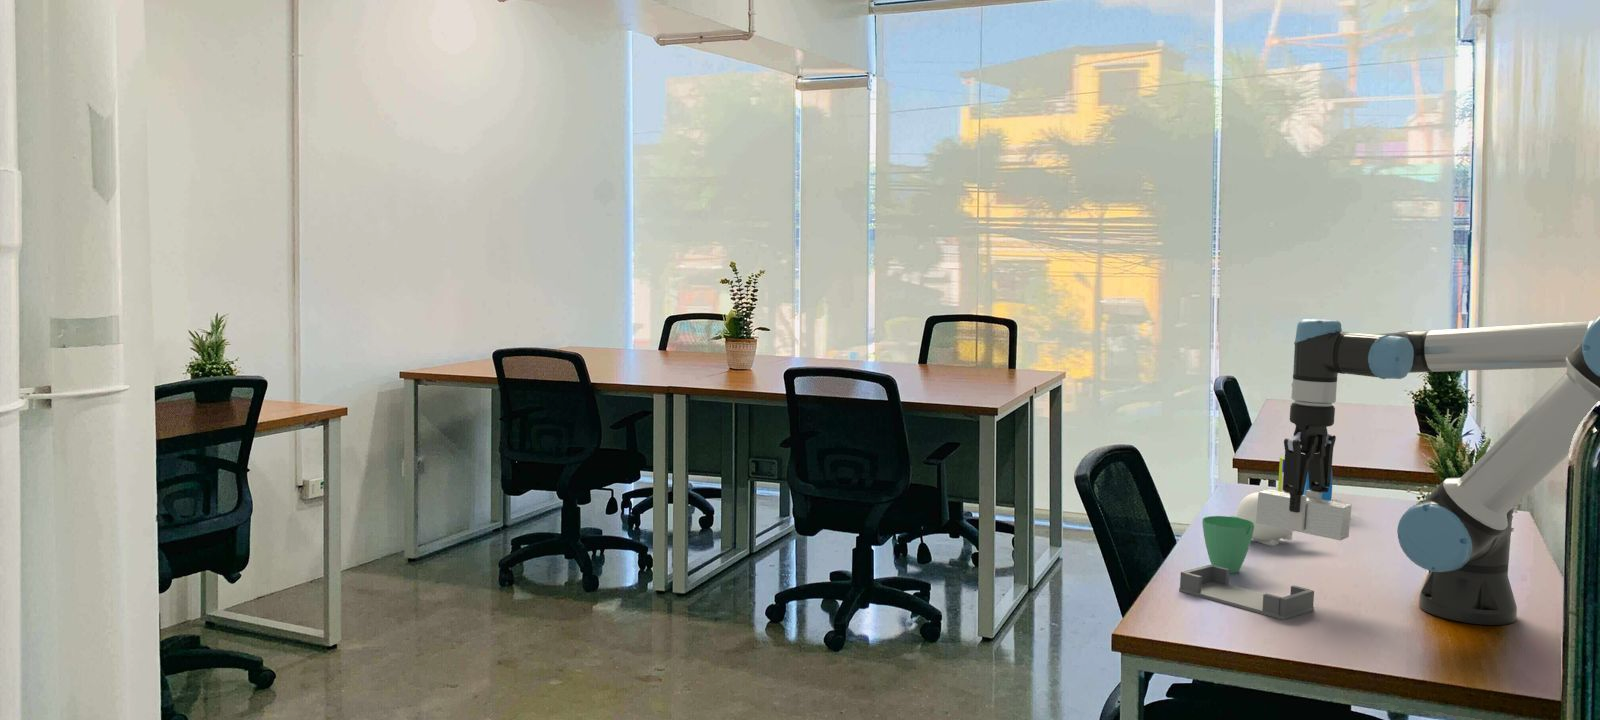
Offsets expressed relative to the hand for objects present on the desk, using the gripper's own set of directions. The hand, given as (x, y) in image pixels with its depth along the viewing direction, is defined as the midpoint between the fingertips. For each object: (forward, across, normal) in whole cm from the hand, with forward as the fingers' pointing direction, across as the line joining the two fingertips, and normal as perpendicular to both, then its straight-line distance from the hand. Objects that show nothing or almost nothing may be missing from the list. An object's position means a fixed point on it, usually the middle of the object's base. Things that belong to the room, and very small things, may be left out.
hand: (1303, 527), depth 215 cm
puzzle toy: (+14, -85, -50) cm, 100 cm away
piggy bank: (+14, -34, -26) cm, 44 cm away
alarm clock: (+14, -71, -39) cm, 82 cm away
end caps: (+13, +12, -4) cm, 18 cm away
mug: (+13, -6, -19) cm, 24 cm away
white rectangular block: (+1, 0, 0) cm, 1 cm away
